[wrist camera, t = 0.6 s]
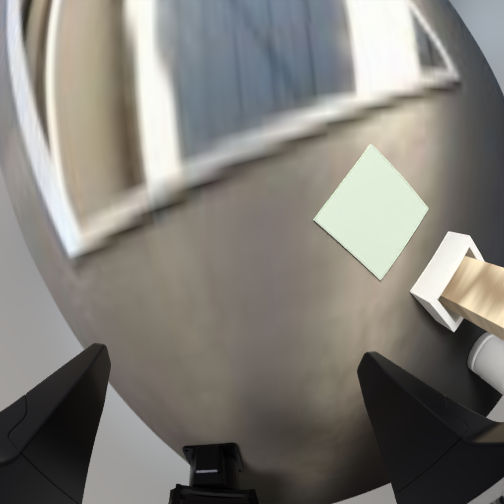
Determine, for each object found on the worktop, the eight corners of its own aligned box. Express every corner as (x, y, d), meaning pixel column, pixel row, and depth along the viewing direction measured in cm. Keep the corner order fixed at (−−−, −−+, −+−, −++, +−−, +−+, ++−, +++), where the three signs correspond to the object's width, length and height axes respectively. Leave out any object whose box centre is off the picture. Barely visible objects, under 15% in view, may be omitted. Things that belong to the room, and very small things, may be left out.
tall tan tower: (438, 303, 26) (515, 347, 14) (424, 287, 26) (509, 331, 14) (460, 268, 26) (540, 299, 14) (447, 250, 25) (535, 278, 13)
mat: (379, 279, 25) (380, 280, 25) (312, 219, 23) (313, 219, 23) (426, 208, 24) (428, 208, 24) (369, 144, 23) (371, 143, 22)
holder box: (436, 321, 27) (454, 332, 23) (409, 291, 26) (429, 302, 22) (470, 265, 26) (490, 272, 23) (448, 231, 25) (469, 235, 22)
